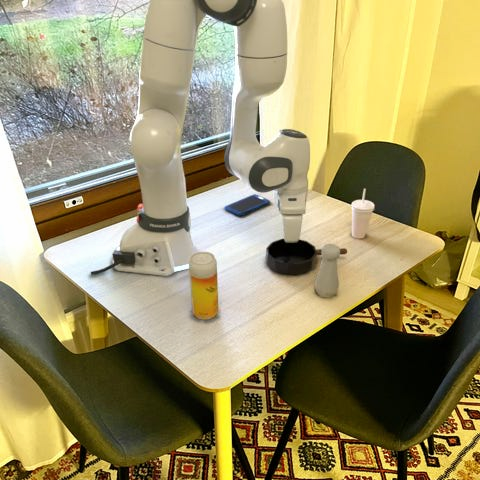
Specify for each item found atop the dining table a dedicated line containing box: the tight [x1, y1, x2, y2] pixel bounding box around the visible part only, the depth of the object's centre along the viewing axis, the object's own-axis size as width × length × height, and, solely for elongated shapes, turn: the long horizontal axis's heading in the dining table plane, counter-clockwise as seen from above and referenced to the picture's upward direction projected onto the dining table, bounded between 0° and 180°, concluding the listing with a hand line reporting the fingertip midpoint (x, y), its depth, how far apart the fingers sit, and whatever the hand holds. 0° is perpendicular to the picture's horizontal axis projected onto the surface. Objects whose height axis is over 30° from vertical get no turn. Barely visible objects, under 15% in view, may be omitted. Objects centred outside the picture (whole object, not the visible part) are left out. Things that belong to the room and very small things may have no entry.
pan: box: [265, 238, 348, 277], centre depth 137 cm, size 21×13×4 cm, turn 93°
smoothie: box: [350, 188, 376, 239], centre depth 145 cm, size 6×6×14 cm
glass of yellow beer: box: [188, 251, 220, 321], centre depth 116 cm, size 6×6×15 cm
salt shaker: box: [314, 243, 341, 299], centre depth 123 cm, size 6×6×13 cm
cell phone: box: [224, 193, 271, 217], centre depth 165 cm, size 7×14×1 cm, turn 134°
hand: (287, 240), depth 143 cm, fingers closed
